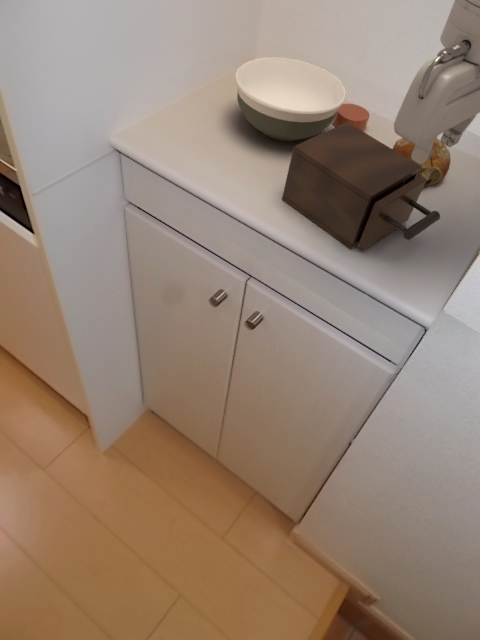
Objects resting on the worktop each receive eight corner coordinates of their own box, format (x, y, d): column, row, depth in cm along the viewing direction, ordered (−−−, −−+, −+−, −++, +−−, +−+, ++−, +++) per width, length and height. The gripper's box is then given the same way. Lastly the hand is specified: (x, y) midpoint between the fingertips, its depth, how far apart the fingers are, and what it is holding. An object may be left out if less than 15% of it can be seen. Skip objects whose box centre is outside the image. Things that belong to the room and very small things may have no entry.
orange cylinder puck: (346, 113, 99) (350, 100, 97) (371, 128, 97) (376, 114, 95) (326, 122, 96) (330, 108, 94) (351, 137, 94) (356, 124, 92)
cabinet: (398, 217, 80) (421, 166, 73) (350, 249, 74) (370, 196, 67) (331, 173, 85) (347, 122, 79) (281, 199, 79) (293, 146, 72)
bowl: (293, 94, 101) (303, 51, 95) (354, 145, 92) (369, 101, 86) (210, 110, 93) (214, 64, 87) (267, 168, 84) (276, 120, 78)
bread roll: (438, 191, 92) (461, 146, 89) (433, 195, 84) (459, 146, 80) (386, 169, 95) (407, 125, 91) (376, 171, 86) (399, 122, 83)
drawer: (433, 237, 76) (455, 197, 71) (391, 269, 71) (411, 227, 65) (344, 178, 83) (357, 137, 78) (298, 202, 78) (310, 160, 72)
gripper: (464, 67, 47) (407, 193, 58) (557, 26, 58) (494, 139, 68) (407, 40, 50) (363, 165, 60) (506, 5, 60) (453, 117, 71)
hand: (433, 151), depth 64 cm, fingers open, 5 cm apart
